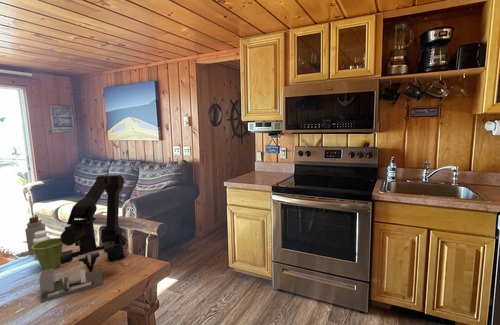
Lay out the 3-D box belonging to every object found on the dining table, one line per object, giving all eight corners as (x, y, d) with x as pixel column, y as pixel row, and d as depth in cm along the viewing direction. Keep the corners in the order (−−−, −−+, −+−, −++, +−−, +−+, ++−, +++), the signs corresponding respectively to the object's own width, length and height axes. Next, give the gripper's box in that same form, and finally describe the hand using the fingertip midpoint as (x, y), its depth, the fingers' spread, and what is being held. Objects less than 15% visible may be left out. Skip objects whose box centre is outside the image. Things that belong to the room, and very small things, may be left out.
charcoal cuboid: (67, 287, 106) (66, 281, 106) (67, 289, 105) (66, 283, 104) (64, 288, 106) (63, 282, 105) (64, 290, 104) (63, 284, 104)
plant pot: (61, 258, 135) (58, 235, 134) (71, 265, 128) (67, 241, 126) (31, 268, 126) (28, 244, 125) (39, 276, 119) (35, 251, 117)
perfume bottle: (29, 255, 140) (23, 220, 137) (32, 250, 145) (27, 217, 143) (45, 252, 143) (40, 218, 140) (47, 247, 149) (43, 214, 146)
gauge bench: (101, 271, 121) (99, 255, 120) (103, 284, 110) (101, 267, 110) (44, 287, 111) (41, 269, 110) (40, 302, 100) (38, 284, 99)
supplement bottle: (35, 257, 138) (31, 232, 136) (52, 253, 142) (48, 228, 140) (35, 262, 132) (31, 236, 131) (52, 257, 136) (48, 232, 135)
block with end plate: (85, 273, 117) (84, 261, 116) (86, 284, 108) (84, 271, 108) (63, 279, 113) (62, 266, 112) (62, 291, 104) (60, 277, 104)
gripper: (110, 224, 124) (114, 257, 126) (59, 234, 114) (64, 270, 116) (113, 231, 114) (117, 267, 116) (57, 243, 105) (63, 282, 107)
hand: (91, 271), depth 114 cm, fingers closed
